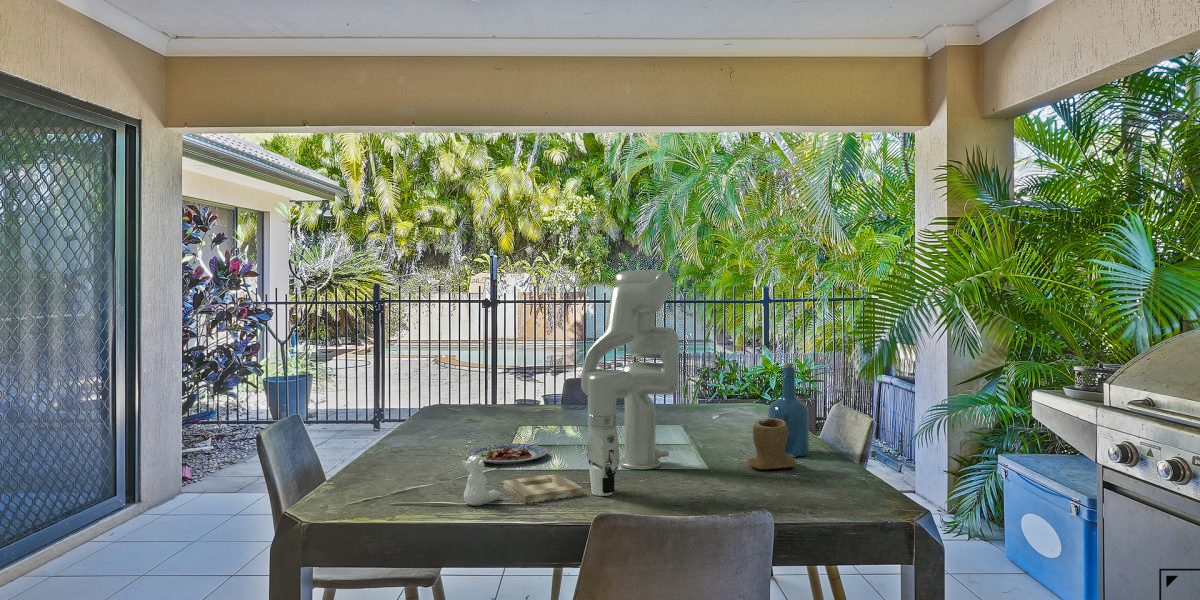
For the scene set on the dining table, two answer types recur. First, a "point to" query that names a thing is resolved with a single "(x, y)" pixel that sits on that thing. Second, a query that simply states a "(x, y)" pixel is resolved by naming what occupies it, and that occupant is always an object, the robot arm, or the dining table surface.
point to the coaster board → (542, 488)
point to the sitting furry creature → (477, 483)
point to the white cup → (597, 480)
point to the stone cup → (771, 445)
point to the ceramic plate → (507, 453)
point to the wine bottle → (792, 414)
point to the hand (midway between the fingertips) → (602, 488)
